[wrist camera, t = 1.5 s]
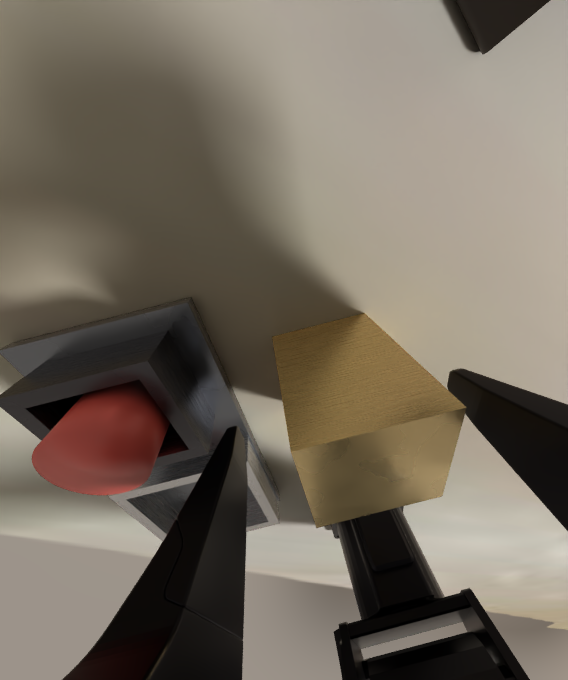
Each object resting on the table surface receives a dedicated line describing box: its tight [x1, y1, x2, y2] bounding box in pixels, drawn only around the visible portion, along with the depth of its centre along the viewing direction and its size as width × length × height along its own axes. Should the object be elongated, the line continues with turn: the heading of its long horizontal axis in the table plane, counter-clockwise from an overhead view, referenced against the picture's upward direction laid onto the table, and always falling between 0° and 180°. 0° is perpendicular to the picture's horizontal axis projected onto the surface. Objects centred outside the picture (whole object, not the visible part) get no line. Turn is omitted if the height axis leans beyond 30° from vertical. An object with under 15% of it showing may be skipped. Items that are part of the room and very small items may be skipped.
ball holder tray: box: [0, 298, 280, 541], centre depth 12 cm, size 16×8×3 cm, turn 12°
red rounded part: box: [32, 379, 170, 495], centre depth 9 cm, size 3×3×3 cm
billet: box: [272, 313, 467, 528], centre depth 9 cm, size 4×4×6 cm
